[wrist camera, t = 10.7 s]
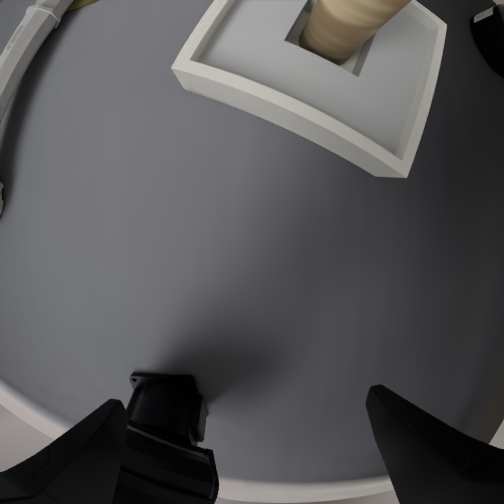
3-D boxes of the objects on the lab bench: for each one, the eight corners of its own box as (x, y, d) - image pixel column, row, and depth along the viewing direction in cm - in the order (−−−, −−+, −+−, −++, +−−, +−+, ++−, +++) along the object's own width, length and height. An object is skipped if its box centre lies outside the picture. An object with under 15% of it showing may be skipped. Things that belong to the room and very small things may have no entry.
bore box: (375, 176, 19) (406, 177, 15) (184, 90, 17) (171, 67, 13) (420, 40, 16) (446, 24, 12) (267, -36, 14) (273, -65, 9)
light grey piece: (73, -23, 9) (-47, 248, 11) (95, 12, 16) (-2, 239, 18) (39, -15, 9) (-67, 229, 11) (63, 14, 15) (-26, 224, 17)
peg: (317, 73, 16) (408, -29, 4) (288, 33, 16) (339, -87, 3) (358, 59, 16) (461, -21, 4) (330, 21, 15) (403, -78, 3)
